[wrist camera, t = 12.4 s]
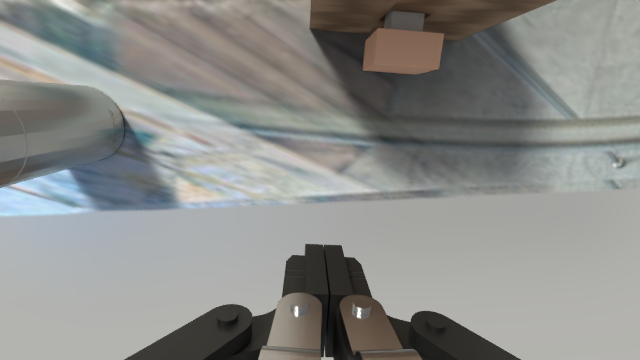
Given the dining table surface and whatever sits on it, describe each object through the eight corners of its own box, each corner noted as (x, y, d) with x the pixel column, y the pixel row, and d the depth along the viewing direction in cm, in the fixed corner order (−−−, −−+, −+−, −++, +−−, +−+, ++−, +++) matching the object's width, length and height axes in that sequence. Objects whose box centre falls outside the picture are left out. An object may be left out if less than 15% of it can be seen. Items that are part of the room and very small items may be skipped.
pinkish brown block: (362, 70, 34) (374, 63, 28) (371, -23, 32) (386, -50, 26) (416, 74, 34) (438, 69, 29) (428, -17, 32) (455, -43, 26)
